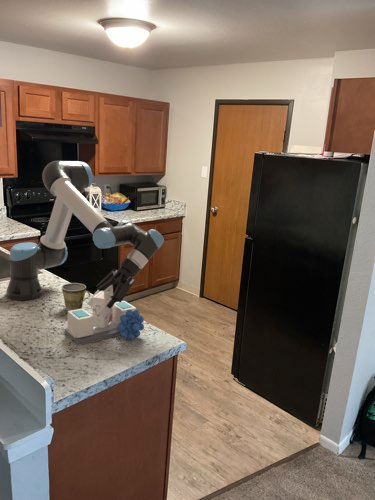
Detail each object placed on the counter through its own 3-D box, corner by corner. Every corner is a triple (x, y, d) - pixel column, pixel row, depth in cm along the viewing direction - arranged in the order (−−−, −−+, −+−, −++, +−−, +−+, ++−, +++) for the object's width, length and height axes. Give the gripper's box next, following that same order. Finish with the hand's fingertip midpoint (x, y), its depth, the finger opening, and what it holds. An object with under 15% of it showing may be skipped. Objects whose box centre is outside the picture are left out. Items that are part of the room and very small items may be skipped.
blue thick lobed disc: (124, 347, 150) (125, 316, 147) (113, 340, 154) (114, 310, 151) (150, 339, 157) (152, 309, 155) (139, 333, 162) (140, 304, 159)
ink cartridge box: (100, 318, 165) (101, 282, 162) (112, 320, 164) (113, 284, 161) (91, 326, 157) (92, 289, 153) (103, 328, 156) (105, 291, 152)
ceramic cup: (56, 310, 178) (56, 287, 176) (71, 302, 187) (71, 281, 185) (82, 316, 174) (82, 293, 171) (96, 308, 183) (96, 287, 180)
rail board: (64, 332, 158) (64, 309, 156) (122, 319, 173) (123, 298, 171) (78, 345, 149) (78, 321, 147) (138, 330, 164) (139, 308, 162)
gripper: (154, 276, 157) (115, 325, 151) (125, 262, 173) (88, 305, 167) (143, 264, 153) (102, 313, 147) (114, 251, 169) (76, 294, 163)
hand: (94, 309), depth 157 cm, fingers closed on ink cartridge box, 9 cm apart
